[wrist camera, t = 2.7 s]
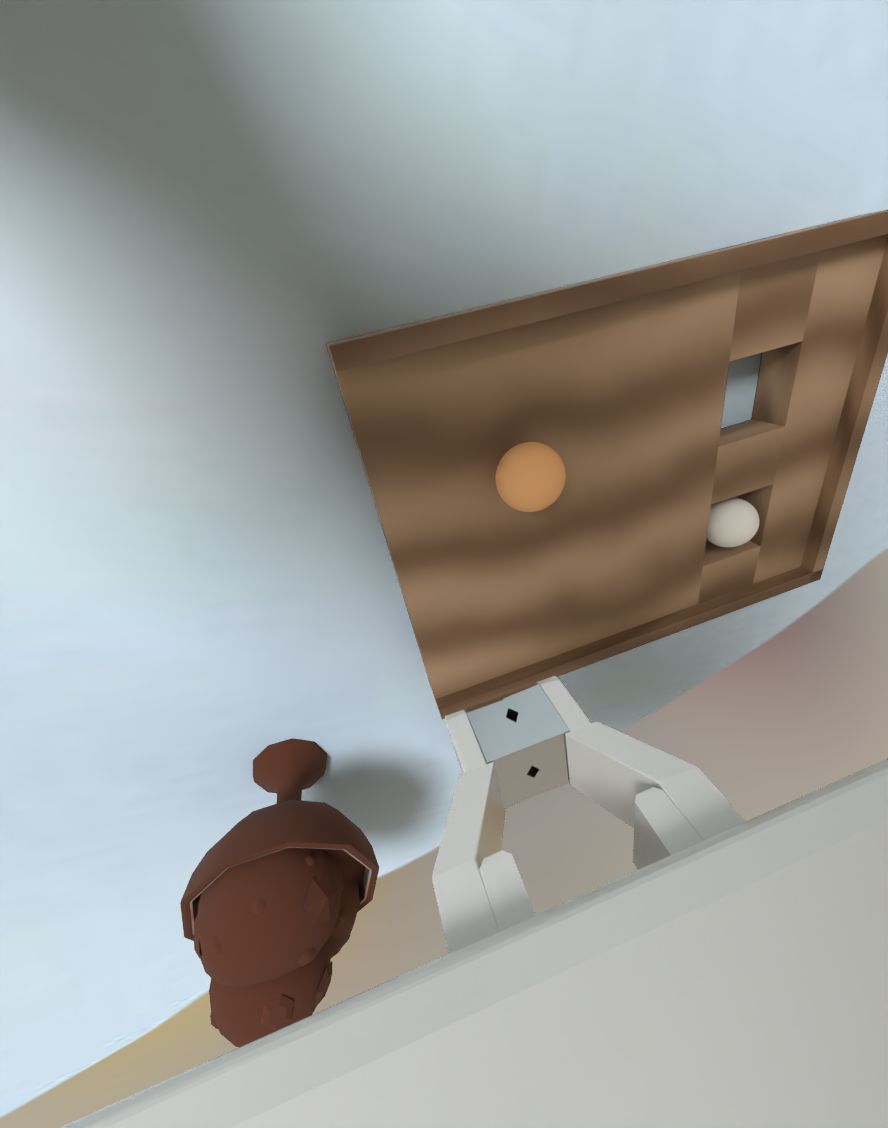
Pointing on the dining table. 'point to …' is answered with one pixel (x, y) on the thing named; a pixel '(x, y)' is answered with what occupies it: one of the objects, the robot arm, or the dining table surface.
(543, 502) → the ball orange
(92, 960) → the dining table surface
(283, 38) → the dining table surface
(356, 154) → the dining table surface
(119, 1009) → the dining table surface
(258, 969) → the ice cream bowl
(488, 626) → the wooden tray
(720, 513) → the ball grey
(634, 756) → the robot arm
